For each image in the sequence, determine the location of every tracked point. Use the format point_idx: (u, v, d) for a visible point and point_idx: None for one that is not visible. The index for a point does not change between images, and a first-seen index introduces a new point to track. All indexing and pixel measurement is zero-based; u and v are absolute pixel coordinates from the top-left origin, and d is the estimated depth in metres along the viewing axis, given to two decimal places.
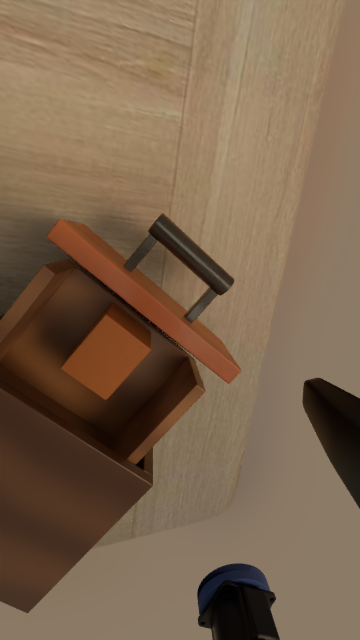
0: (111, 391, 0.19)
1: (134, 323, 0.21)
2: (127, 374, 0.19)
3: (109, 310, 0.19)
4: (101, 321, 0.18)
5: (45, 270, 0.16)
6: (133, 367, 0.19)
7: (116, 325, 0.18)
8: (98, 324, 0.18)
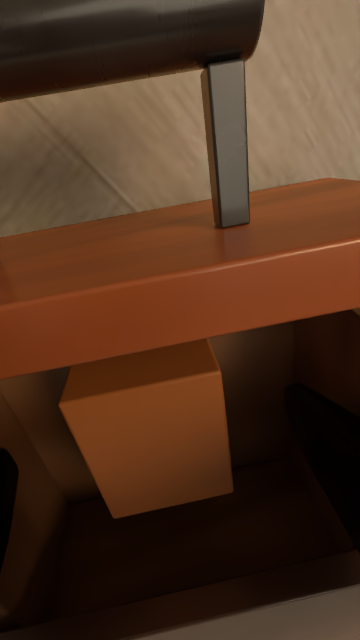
0: (227, 478, 0.08)
1: None
2: (223, 441, 0.08)
3: (71, 369, 0.07)
4: (69, 421, 0.07)
5: None
6: (222, 424, 0.07)
7: (101, 401, 0.06)
8: (72, 429, 0.07)
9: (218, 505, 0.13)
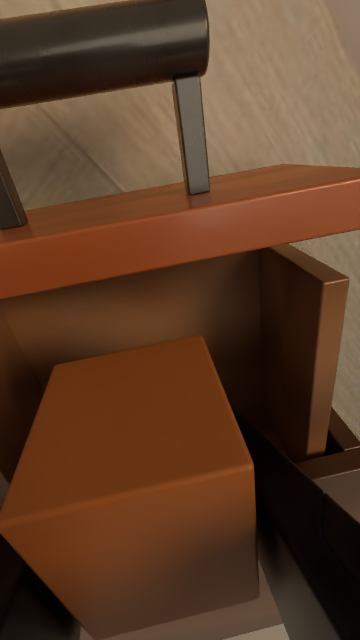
0: (253, 586, 0.06)
1: (138, 374, 0.06)
2: (251, 549, 0.05)
3: (26, 449, 0.05)
4: (15, 545, 0.04)
5: None
6: (250, 529, 0.05)
7: (64, 516, 0.04)
8: (22, 553, 0.04)
9: None
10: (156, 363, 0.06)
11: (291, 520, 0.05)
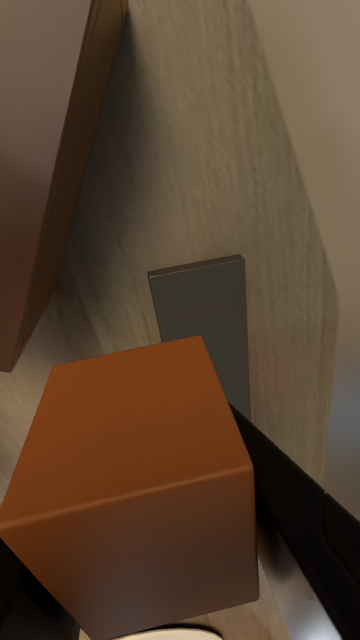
0: (252, 588, 0.06)
1: (138, 375, 0.06)
2: (251, 550, 0.05)
3: (24, 450, 0.05)
4: (14, 547, 0.04)
5: None
6: (250, 531, 0.05)
7: (63, 519, 0.04)
8: (20, 555, 0.04)
9: None
10: (155, 364, 0.06)
11: (293, 520, 0.05)
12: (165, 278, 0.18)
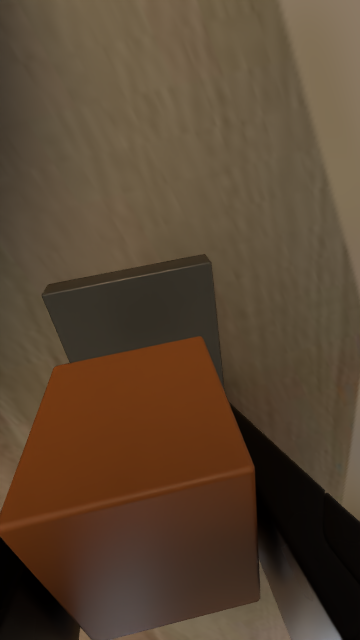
0: (253, 588, 0.06)
1: (139, 376, 0.06)
2: (251, 551, 0.05)
3: (26, 451, 0.05)
4: (15, 548, 0.04)
5: None
6: (251, 532, 0.05)
7: (65, 520, 0.04)
8: (22, 556, 0.04)
9: None
10: (156, 364, 0.06)
11: (292, 520, 0.05)
12: (73, 297, 0.10)
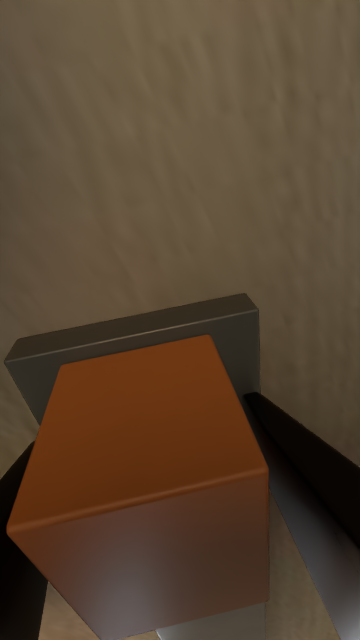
0: (263, 589, 0.06)
1: (147, 375, 0.06)
2: (262, 551, 0.05)
3: (35, 451, 0.05)
4: (25, 549, 0.04)
5: None
6: (263, 533, 0.05)
7: (76, 521, 0.04)
8: (32, 557, 0.04)
9: None
10: (165, 363, 0.06)
11: (346, 506, 0.05)
12: (52, 362, 0.07)
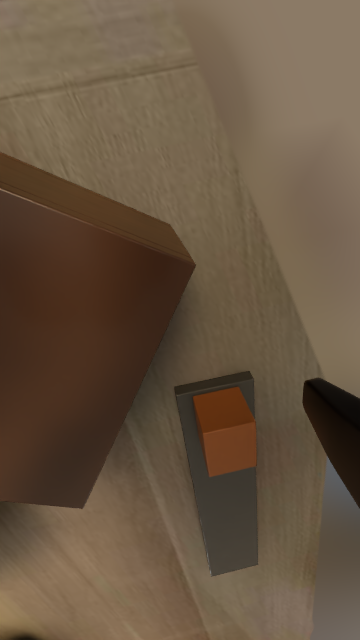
0: (254, 460, 0.21)
1: (222, 400, 0.21)
2: (254, 445, 0.20)
3: (200, 419, 0.20)
4: (204, 439, 0.19)
5: None
6: (254, 439, 0.20)
7: (216, 432, 0.19)
8: (204, 441, 0.20)
9: None
10: (226, 396, 0.22)
11: None
12: (189, 395, 0.22)
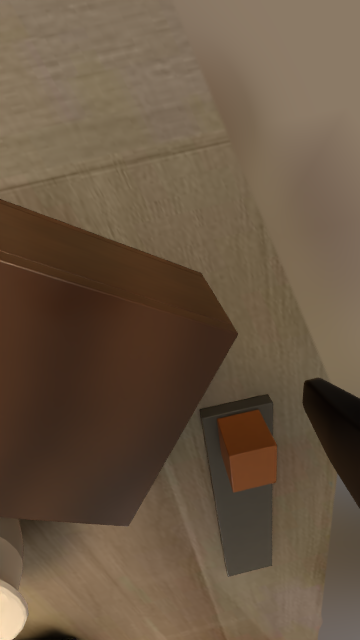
0: (274, 477, 0.23)
1: (244, 423, 0.24)
2: (275, 465, 0.23)
3: (225, 442, 0.22)
4: (230, 460, 0.22)
5: None
6: (275, 459, 0.22)
7: (241, 454, 0.21)
8: (230, 463, 0.22)
9: None
10: (248, 419, 0.24)
11: None
12: (214, 418, 0.24)
